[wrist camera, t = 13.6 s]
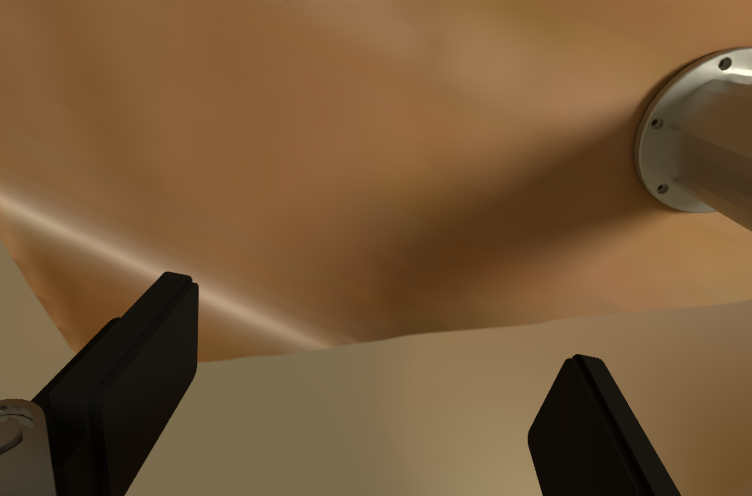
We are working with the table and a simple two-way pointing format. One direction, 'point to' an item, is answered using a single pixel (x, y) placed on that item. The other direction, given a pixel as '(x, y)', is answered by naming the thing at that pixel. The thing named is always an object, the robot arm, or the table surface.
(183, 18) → the table surface
